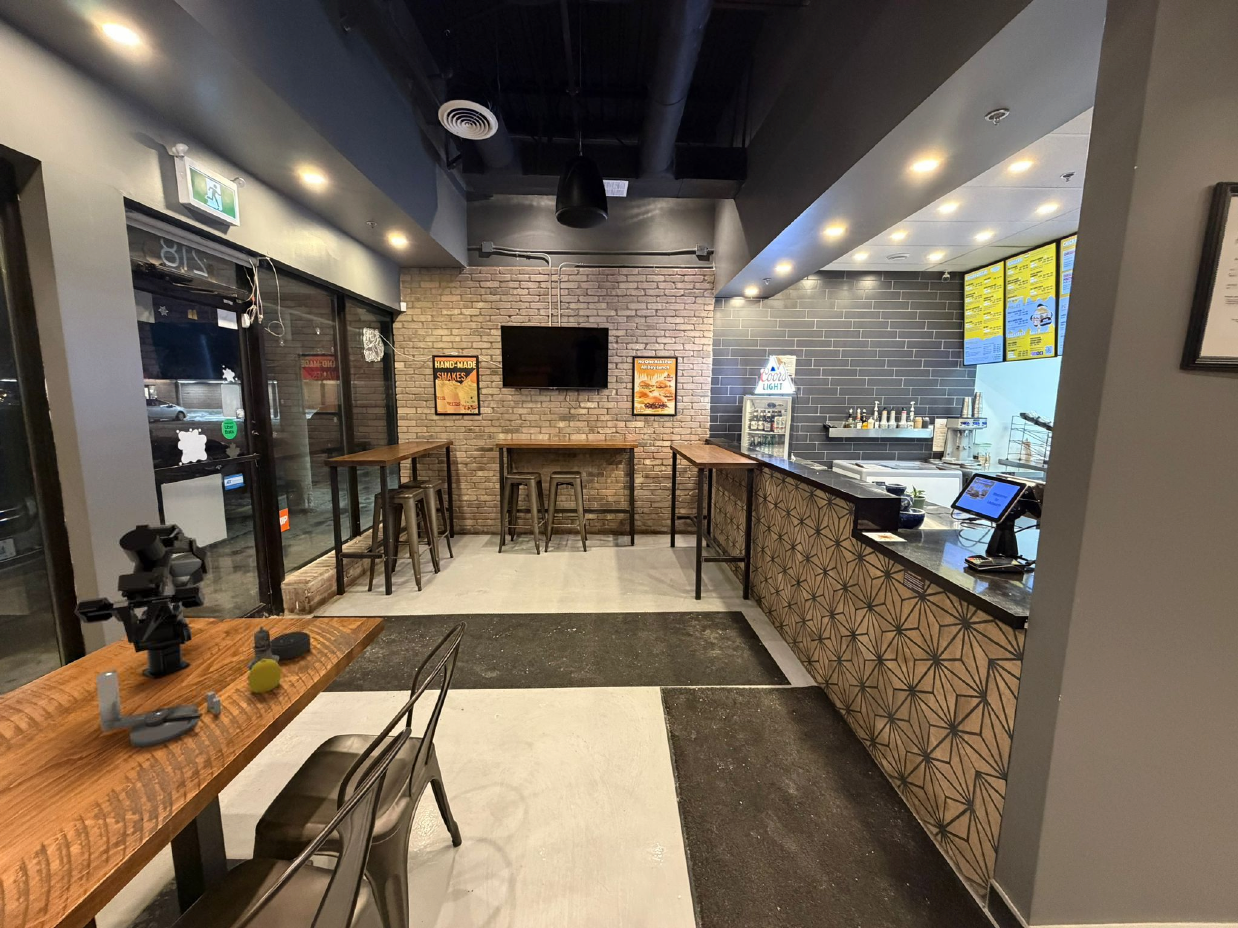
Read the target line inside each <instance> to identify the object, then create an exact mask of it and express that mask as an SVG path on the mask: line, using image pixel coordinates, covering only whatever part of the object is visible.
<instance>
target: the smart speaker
mask: <svg viewBox="0 0 1238 928" xmlns="http://www.w3.org/2000/svg"><path fill="white" fill-rule="evenodd" d="M270 642H271V643H272V645H271V653H272V655H277V656H279V660H281V661H287V660H286V659H288V660H291V659H295V658H298V657H301V656H302V655H304V654H305V653H306V652H307V653H308V651H309V650H310V648H311V644H312V643H311V636H310V634H309V633H308V632H304V631H292V632H288V633H283V634H281V635H278V636H276V637H274V638H272V639H270ZM297 656H298V657H297ZM279 660H278V662H279Z"/></svg>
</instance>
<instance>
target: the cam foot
mask: <svg viewBox="0 0 1238 928" xmlns="http://www.w3.org/2000/svg"><path fill="white" fill-rule="evenodd" d="M118 678H119V677H118V671H117V670H115V669H112V670H107V671H103V672H101V673H99V674H97V675H96V677H95V680H96V689H97V699H98V707H99V717H100V718H99V719H100V727H101V729H100V730H101V731H104V732H106V731H111V730H114V729H121V728H130V727H131V728H130V730H129V738H130V739H129V740H130V745H131V746H132V747H134V748H140V749H141V748H149V747H150V748H151V747H155V746H158V745H163V744H165V743H168V742H171V741H173V740H176V739H177V738H180V737H183V736H184V735H185V734H187V733H188V732H189V733H190V731H191V730H193V729H194V728H195V727H196V726H197V725H198V723H199V719H201V718H202V717H203V712H199V709H198V707H197V706H195V705H192V704H184V705H183V704H182V705H178V706H172V707H167V708H166V707H165V708H164V707H163V708H158V709H154V710H151V711H150V712H148V713H144V714H143V713H141V714H136V715H135V714H133V715H124V716H123V715H122V708H121V707H122V706H121V698H120V697H121V696H120V688H119V679H118Z"/></svg>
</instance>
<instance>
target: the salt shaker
mask: <svg viewBox="0 0 1238 928" xmlns="http://www.w3.org/2000/svg"><path fill="white" fill-rule="evenodd" d="M259 629H260V630H257V631H256V632H255V633H254V635H253V638H254V639H253V641H254V642H253V644H254V646H253V647H252V650H253V651H254V658H253V660H251V661H249V663H247V668H248V669H249V672H250V671H251V669H252V667H253V666H254V665H255V664H256V663H258V662H259V661H261V660H262V659H272V660H274V661H276V662H277V663H278V664H279V661H278V660H279V656H277V655H272V653H271V645H272V643H271V642H270V641H271V636H270V633H271V632H270V631H269V629H264V627H263V626H260V627H259Z"/></svg>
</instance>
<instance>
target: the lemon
mask: <svg viewBox="0 0 1238 928" xmlns="http://www.w3.org/2000/svg"><path fill="white" fill-rule="evenodd" d="M281 676H282V670H281V668H280V665H279V662H278V663H277V662H276V661H274V660H272V659H262V660H261V661H259V662H258V663H256V664H255V665H254V666H253V667H252V669H251V671H250V670H249V674H248V681H247V682H248V685H249V688H250V690H251V691H252V692H253V693H255V694H263V693H267V692H270V691H271V690H274V689H275V688H277V686H278V684H279V683H280V682H281V679H282V677H281Z"/></svg>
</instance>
